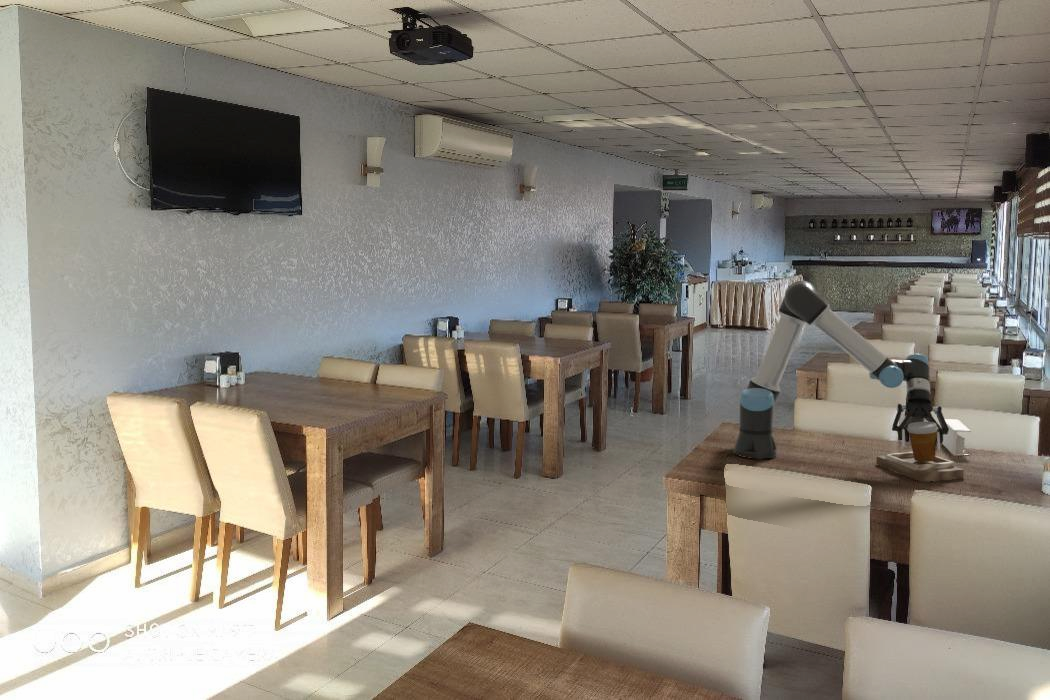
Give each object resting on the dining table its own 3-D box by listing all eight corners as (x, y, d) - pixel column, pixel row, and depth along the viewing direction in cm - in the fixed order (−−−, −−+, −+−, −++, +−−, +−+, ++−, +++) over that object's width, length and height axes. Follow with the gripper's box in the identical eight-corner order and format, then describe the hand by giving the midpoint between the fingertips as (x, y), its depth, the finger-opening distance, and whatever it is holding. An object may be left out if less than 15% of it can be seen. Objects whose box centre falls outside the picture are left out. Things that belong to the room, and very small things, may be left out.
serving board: (922, 482, 265) (923, 469, 264) (876, 464, 286) (877, 451, 285) (963, 478, 269) (964, 465, 269) (914, 460, 290) (915, 448, 290)
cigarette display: (969, 456, 296) (971, 430, 295) (952, 455, 297) (954, 430, 296) (955, 442, 315) (957, 418, 314) (939, 442, 317) (941, 418, 315)
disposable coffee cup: (903, 461, 278) (900, 426, 277) (918, 454, 283) (915, 420, 282) (931, 464, 270) (928, 429, 269) (946, 457, 276) (943, 422, 274)
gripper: (884, 386, 287) (885, 440, 274) (956, 389, 280) (960, 446, 267) (882, 398, 293) (883, 452, 280) (952, 402, 285) (956, 457, 273)
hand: (920, 449), depth 274 cm, fingers open, 10 cm apart
